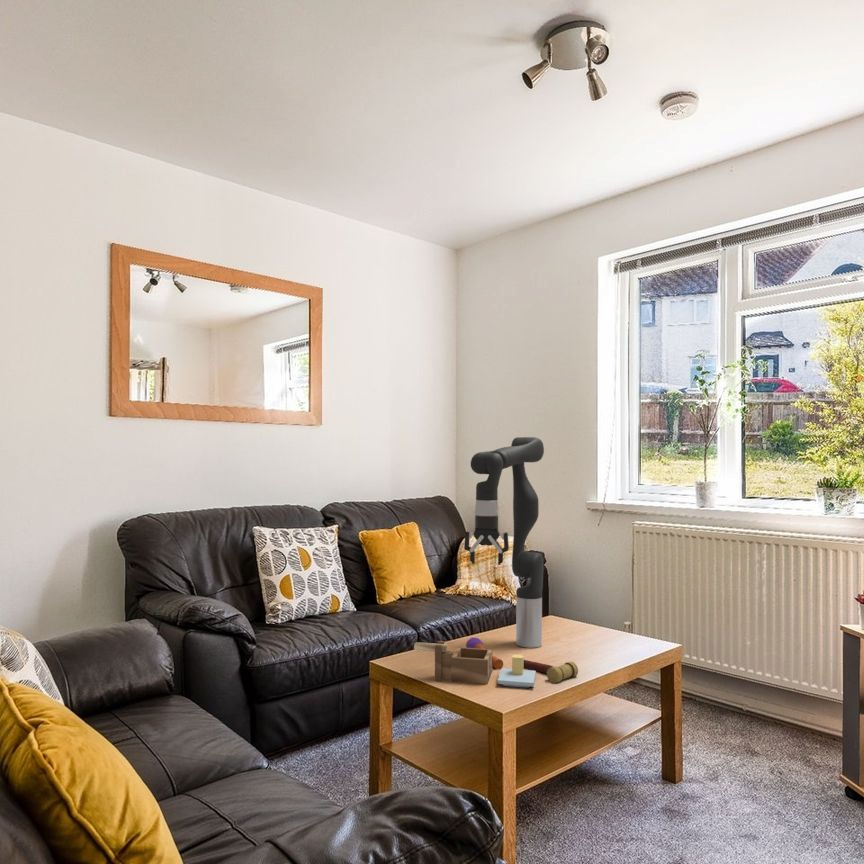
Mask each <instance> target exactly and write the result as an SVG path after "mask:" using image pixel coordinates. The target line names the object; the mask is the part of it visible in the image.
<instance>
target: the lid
mask: <svg viewBox="0 0 864 864" xmlns="http://www.w3.org/2000/svg"><path fill="white" fill-rule="evenodd" d="M524 660H525V659H524V654H514V653H513V654H512V656H511V661H512V662H511V665H512V666H511V668H505V667H502V668H501V669H500V673H499V675H498V678H497V684H499V685H502V686H504V687H514V688H515V687H516V688H527V689H529V688H530V687H535V681H536V676H537V671H535V670H531V669H524V667H523V666H524Z"/></svg>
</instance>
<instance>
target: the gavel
mask: <svg viewBox="0 0 864 864" xmlns="http://www.w3.org/2000/svg"><path fill="white" fill-rule="evenodd" d="M524 668H525V669H526V670H532V671H536V672H539V673H543V674H544V673H545V674H546V677H547V679H548V681H549V682H550V683H551V682H552V683H555V684H556V683H560V682H561V681H563V680H565V679H568V678H574V677H577V676H578V673H579V668H578V665H577V664H576V662H574V661H568V662H564V663H563V664H562V665H559V666H553V665H550V664H546V663H541V662H537V661H532V660H529V659H527V660H526V659H524V666H523V669H524Z"/></svg>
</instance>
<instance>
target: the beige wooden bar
mask: <svg viewBox="0 0 864 864" xmlns="http://www.w3.org/2000/svg"><path fill="white" fill-rule="evenodd" d="M435 644H437V643H436V642H435V643H433V642H432V643H431V642H420V641H416V642H415V643H414V646H413V650H414V651H421V652H422V651H423V652H434V653H435ZM448 644H449V643H448ZM448 644H447V643H444V644H439V645H442V652H447V651H449V650H448V649H449V648H448Z"/></svg>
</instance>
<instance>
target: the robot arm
mask: <svg viewBox="0 0 864 864" xmlns="http://www.w3.org/2000/svg"><path fill="white" fill-rule="evenodd" d="M544 447H545V446H544V442H543V440H542V439H540V438H538V437H533V436H532V437H531V436H530V437H529V436H528V437H527V436H524V437H523V436H522V437H521V436H520V437H519V436H517V437H515V438H513V439H512V441H511V446H503V447H500V448H497V449H494V450H489V451H479V452H477V453H475V454H474V455H473V456H472V457H471V460H470V468H471V471H472V472H473V473H475V474H478V475H488V477H487V479H486V480H484V481H480V482H477V483H476V486H475V507H474V531H469V530H468V531H465V534H464V548H463V549H464V550H465V551H467V552H469V561H470V563H471V564H472V565H475V564H476V551H475V550H476V549H477V547H479V545H480V546H493V547H494V548H495V549H496V550H497V552H498V553H497V565H498V566H501V564H503V562H504V553H506V552H508V551H509V550H510V549H509V546H510V545H509V533H508V532H500V531H499V505H498V504H499V503H498V502H499V501H498V500H499V499H498V495H499V494H498V493H499V491H498V487H499V484H500V479H501V476H502V472H503V470H504V469H507V468H510V467H511V468H512V469H511V470H512V485H513V486H512V487H513V488H512V489H513V492H512V493H513V495H512V496H513V497H512V500H513V501H512V510H513V511H512V515H513V538H512V557H511V570H512V573H513V575H514V576H515V577H517V578H524V579H526V578H527V579H530V581H529V583H528V584H526V585H523V586H519V587H517V589H516V595H515V596H516V602H515V603H516V604H515V605H516V607H515V608H516V609H515V610H516V612H515V613H516V614H515V615H516V616H515V617H516V619H515V620H516V622H515V624H516V625H515V631H516V634H515V640H516V641H515V643H516V646H519V647H522V648H526V649H527V648H529V649H530V648H533V649H534V648H539V647H541V646H542V643H543V639H542V638H543V633H542V632H543V630H542V629H543V588H544V583H543V582H544V565H545V564H544V558H543V555H542V554H541V553H539V552H529V551H525V545H526V544H525V543H526V540H527V538H528V536H529V534H530V532H531V531H532V529H533V528H534V526H535V524H536V522H537V520H538V518H539V497H538V494H537V492H536V491H535V489H534V487H533V486H532V484H531V482H530V480H529V479H528V477H527V476H528V475H527V473H526V469H525V468H526V467H525V463H537V462H539V461H541V460H542V459H543V457H544V453H545V448H544ZM472 537H474V539H475V540H476V541H475V542H474V543H473V545H472V546H470V540H471V539H472ZM499 537H501V540H503V547H502V546H501V545H500V543H499V542H498V539H499Z"/></svg>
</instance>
